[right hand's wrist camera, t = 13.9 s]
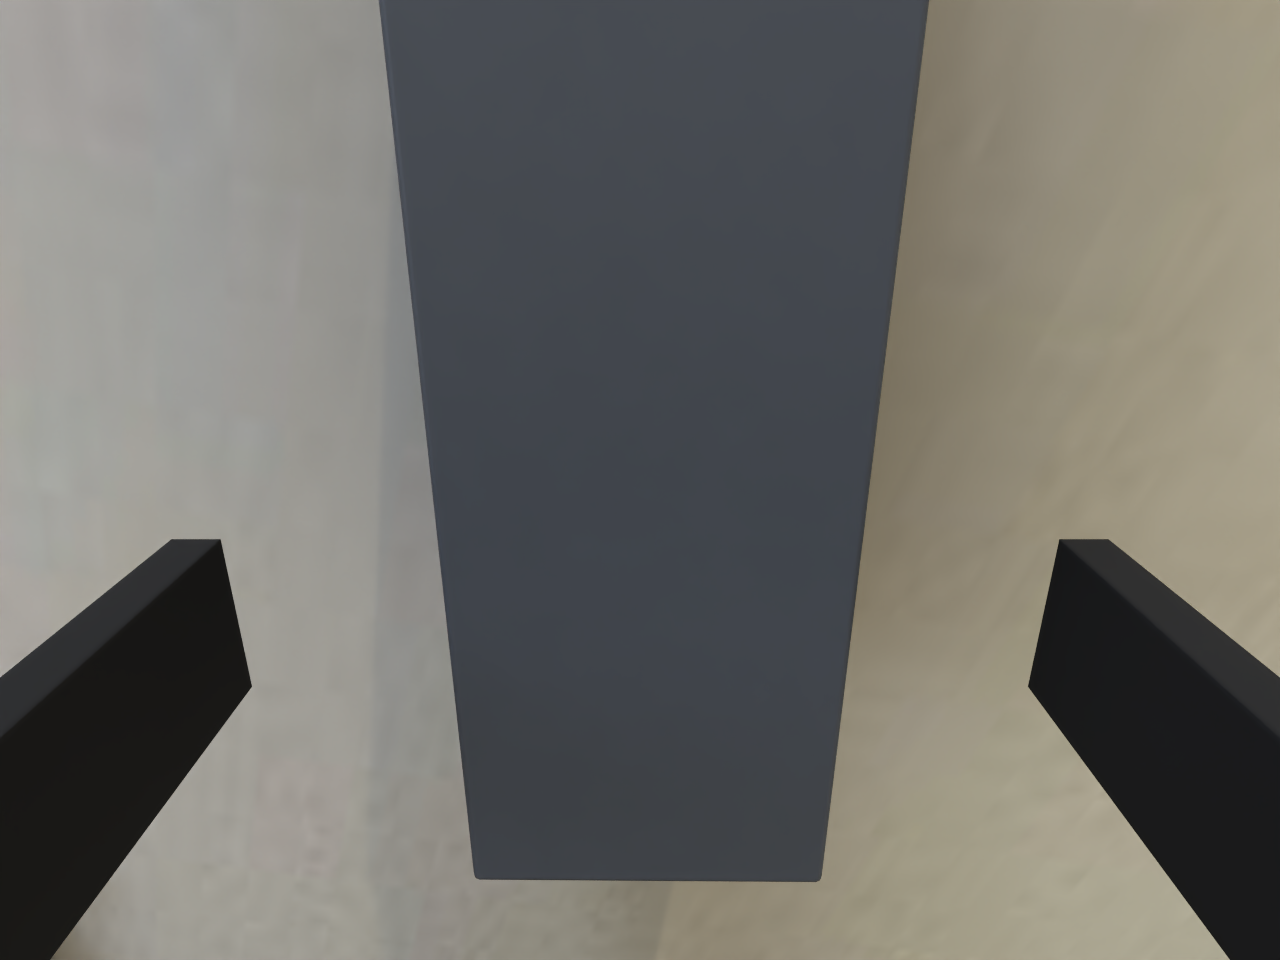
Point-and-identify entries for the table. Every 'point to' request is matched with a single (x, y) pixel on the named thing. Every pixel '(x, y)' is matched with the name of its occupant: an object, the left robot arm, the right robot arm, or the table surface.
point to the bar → (651, 406)
